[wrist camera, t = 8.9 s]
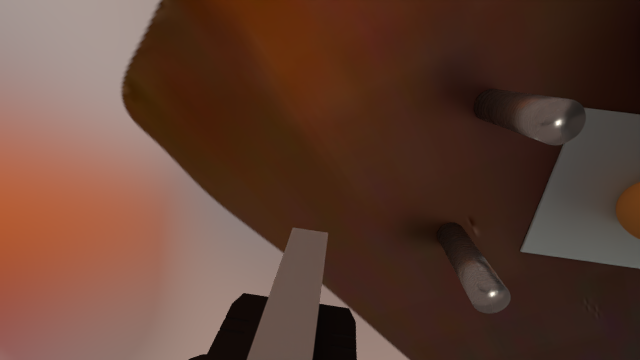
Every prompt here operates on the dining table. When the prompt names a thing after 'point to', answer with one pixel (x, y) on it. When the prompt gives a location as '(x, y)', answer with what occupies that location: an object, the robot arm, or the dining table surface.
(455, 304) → the dining table surface
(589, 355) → the dining table surface
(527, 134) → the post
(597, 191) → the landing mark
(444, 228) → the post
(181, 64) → the dining table surface
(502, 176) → the dining table surface
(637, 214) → the ball
